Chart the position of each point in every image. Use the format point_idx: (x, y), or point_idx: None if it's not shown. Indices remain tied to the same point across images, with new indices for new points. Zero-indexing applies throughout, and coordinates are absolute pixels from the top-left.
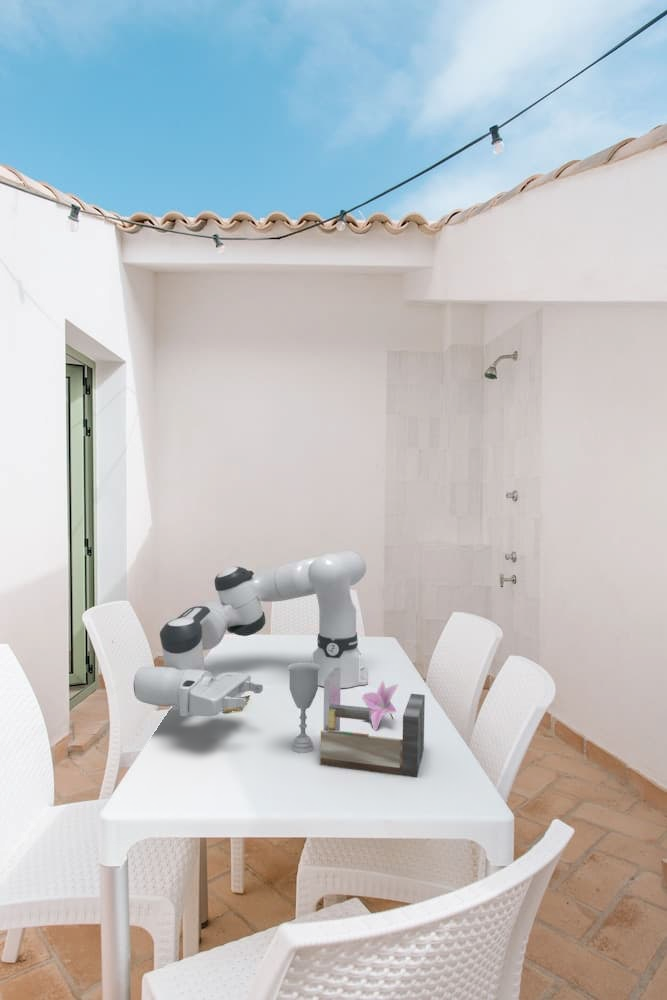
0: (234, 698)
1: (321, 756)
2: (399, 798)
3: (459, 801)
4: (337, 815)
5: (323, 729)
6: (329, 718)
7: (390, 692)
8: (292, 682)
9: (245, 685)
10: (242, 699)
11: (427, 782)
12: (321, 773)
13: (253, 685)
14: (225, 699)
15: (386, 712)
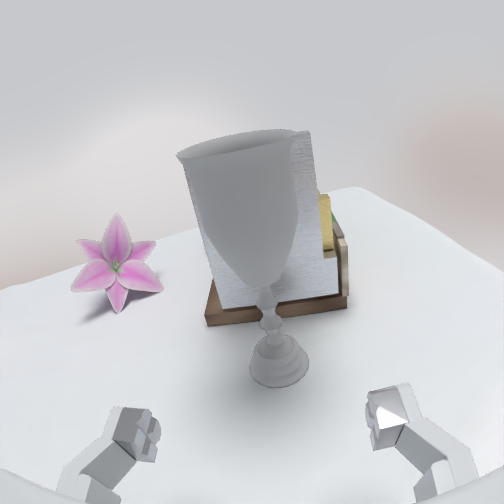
0: (434, 430)
1: (348, 291)
2: (378, 223)
3: (348, 200)
4: (458, 245)
5: (322, 253)
6: (330, 213)
7: (117, 232)
8: (288, 192)
9: (99, 501)
10: (411, 392)
11: None
12: (377, 295)
13: (111, 453)
14: (471, 468)
15: (142, 259)
